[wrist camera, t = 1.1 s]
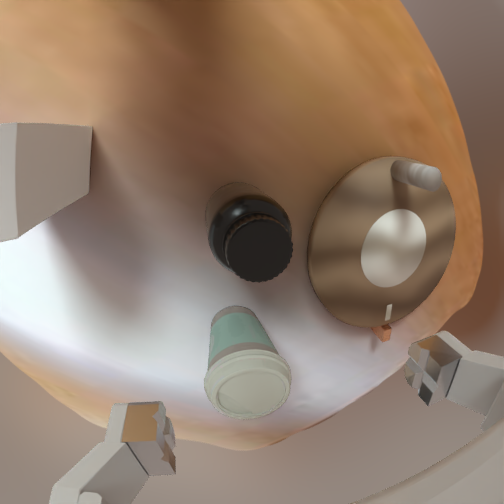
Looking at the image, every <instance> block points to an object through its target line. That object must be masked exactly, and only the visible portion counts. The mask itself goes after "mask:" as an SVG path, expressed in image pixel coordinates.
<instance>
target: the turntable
mask: <svg viewBox="0 0 504 504" xmlns="http://www.w3.org/2000/svg"><path fill="white" fill-rule="evenodd" d="M455 230H456V219H455V211H454V206H453V202H452V198H451V196H450V193H449V191H448V189H447V187H446V185H445V183H444V182H443V180H442V176H441V172H440V171H439V169H438V168H436V167H431V166H427V165H426V164H424V163H422V162H419V161H417V160H414V159H410V158H405V157H398V156H385V157H379V158H375V159H371V160H369V161H366V162H364V163H362V164H360V165H358V166H357V167H355V168H354V169H352V170H350V171H349V172H348V173H347V174H346V175H345V176H343V177H342V178H341V179H340V180H339V181H338V182H337V183H336V185H335V186H334V187H333V188H332V189H331V191H330V192H329V193H328V195H327V196H326V197H325V199H324V201H323V203H322V204H321V206H320V208H319V210H318V212H317V215H316V217H315V219H314V222H313V225H312V229H311V232H310V236H309V242H308V253H307V262H308V272H309V276H310V280H311V283H312V286H313V288H314V291H315V292H316V294H317V296H318V298H319V299H320V301H321V302H322V303H323V305H324V306H325V307H326V308H327V310H328V311H329V312H330V313H331V314H332V315H334V316H335V317H336V318H337V319H339V320H341V321H342V322H344V323H347V324H349V325H352V326H357V327H378V326H382V325H386V324H389V323H392V322H394V321H397V320H399V319H401V318H402V317H404V316H406V315H407V314H409V313H410V312H412V311H413V310H414V309H416V308H417V307H418V306H419V305H420V304H421V303H422V302H423V301H424V300H425V299H426V298H427V297H428V296H429V295H430V294H431V292H432V291H433V290H434V288H435V287H436V286H437V284H438V283H439V281H440V279H441V278H442V276H443V274H444V272H445V270H446V268H447V265H448V263H449V260H450V257H451V254H452V250H453V246H454V240H455Z"/></svg>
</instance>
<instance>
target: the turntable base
mask: <svg viewBox="0 0 504 504" xmlns="http://www.w3.org/2000/svg"><path fill="white" fill-rule="evenodd" d="M371 329H372V330H373V332H374V333H375V334H376V335H377V336H378V338H379V339H380V340H381V341H382V342H385V341H388V340H390V334H391V327H390V326H389V325H388V324H386V325H382V326H378V327H371Z"/></svg>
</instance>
